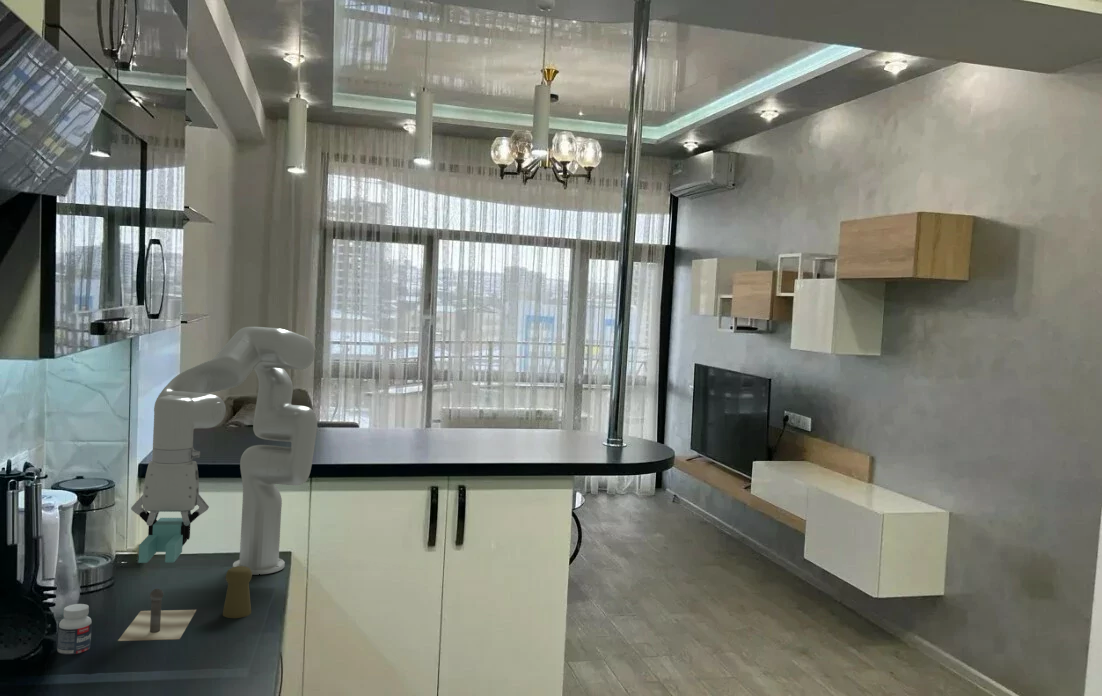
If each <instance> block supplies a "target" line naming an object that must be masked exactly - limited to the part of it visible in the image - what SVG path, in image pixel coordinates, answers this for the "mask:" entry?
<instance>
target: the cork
mask: <svg viewBox="0 0 1102 696" xmlns="http://www.w3.org/2000/svg"><path fill="white" fill-rule="evenodd" d="M252 577H253V575H252V571H251V570H250V568H248V567H245V566H237V567H233V566H232V567H231V568H228V570H227V571H226V574H225V581H226V582H227V589H226V594H225V599H224V600H225V601H224V603H223V610H222V616H223V617H225V618H228V619H240V618H245V617H248V616H250V615H251V614H252V605H251V603H252V602H251V594H250V593H251V592H250V581H252Z"/></svg>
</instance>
